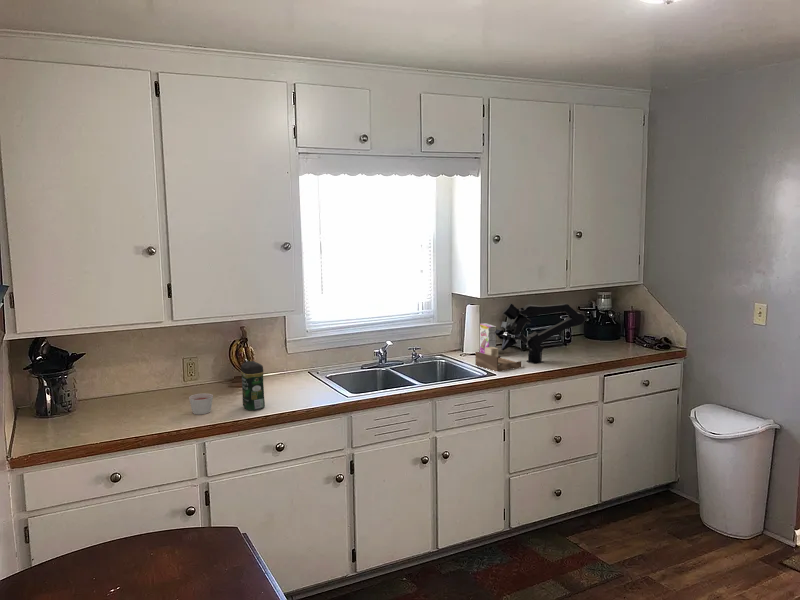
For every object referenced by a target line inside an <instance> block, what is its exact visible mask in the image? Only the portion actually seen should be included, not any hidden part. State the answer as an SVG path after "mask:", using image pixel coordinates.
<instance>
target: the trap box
mask: <svg viewBox="0 0 800 600" xmlns="http://www.w3.org/2000/svg"><path fill="white" fill-rule="evenodd" d="M475 365H477V366H476V367H479V366H480V367H479V368H482V367H483V368H482V369H486V368H487V370H489V369H490V370H489V371H493V370H494V372H496V371H498V372H503V371H502V370H504V371H508V370H507V369H509V370H514V369H518V368H519V367H520V368H522V360H520V361H514V360H510V359H506V358H502V357H501V355H498V357H495V356H491V355H487V354H483V353H480V352H479V351H475ZM513 368H514V369H513Z"/></svg>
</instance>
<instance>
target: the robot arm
mask: <svg viewBox="0 0 800 600" xmlns="http://www.w3.org/2000/svg"><path fill="white" fill-rule="evenodd" d="M501 313H502V314H503V315H504V316H505V317H507V319H509V320H510V321H511V322H508V321H502V322H501V325H500V328H501V329H500V328H496V331H495V334H496V337H497V338H498V339H500V340H502V344H501V348H500V349H501V350H502V351H505V350H506V349H508V348H510V347H511V346H514V345H517V344H518V341H520V343H521V344H522V345H526V346H527V347H528V349H529V350H528V356H527V359H528V360H526V362H527V363H531V364H541V363H544V362H545V361H544V360H543V357H542V356H543V350H544V347H543V346H542V344H543V343H544V342H545V341H546V340H548V339H550V338H551V337H554V336H556V335H558V334H559V333H561V332H563V331H565V330H567V329H569V328H572V327H573V328H574V327H578V326H580V325H583V324H584V323H585V321H586V318H585V315H584V314H582V313H580V312H579V311H576V310H575V309H573V307H571V306H570V305H569V304H567V303H564V302H563V303H561V304H560V303H557V304H548V305H538V304H537V305H536V304H526V305H524V307H520V308H517V307H516V306H515V305H514V304H513V303H511V302H510V303H508V305H506V306H505V307H504V308H503V310H502V312H501ZM554 313H565V314H566V315H567V317H566V318H565V319H564V320H562V321H560V322H558V323H556V324H555V325H552V326H551V327H549V328H547V329H545V330H543V331H541V332H537V331H533V332H532V333H530V334H527V336H525V334H524V331H523V329H524V328H525V326H526V324H527V325H531V324H532V320H531V318H534V317H537V316H541V315H543V314H554ZM512 320H514V321H512ZM503 329H504V330H503Z"/></svg>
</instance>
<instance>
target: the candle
mask: <svg viewBox="0 0 800 600" xmlns="http://www.w3.org/2000/svg"><path fill="white" fill-rule="evenodd" d="M213 398H214V394H211V393H205V392H202V393H196V394H192V395H190V396H189V397H188V399H189V404H190V408H191V412H192V413H193V414H194V415H207V414H209V413H210V412H211V411H212V405H213Z"/></svg>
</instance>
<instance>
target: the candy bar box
mask: <svg viewBox="0 0 800 600" xmlns="http://www.w3.org/2000/svg"><path fill="white" fill-rule="evenodd" d="M479 324H480V353H483V354H485V348H486V347H495V348H497V335H496V334H495V331H496V329H497V326H496V325H493V324H490V323H487V322H486V323H484V322H483V323H479Z"/></svg>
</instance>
